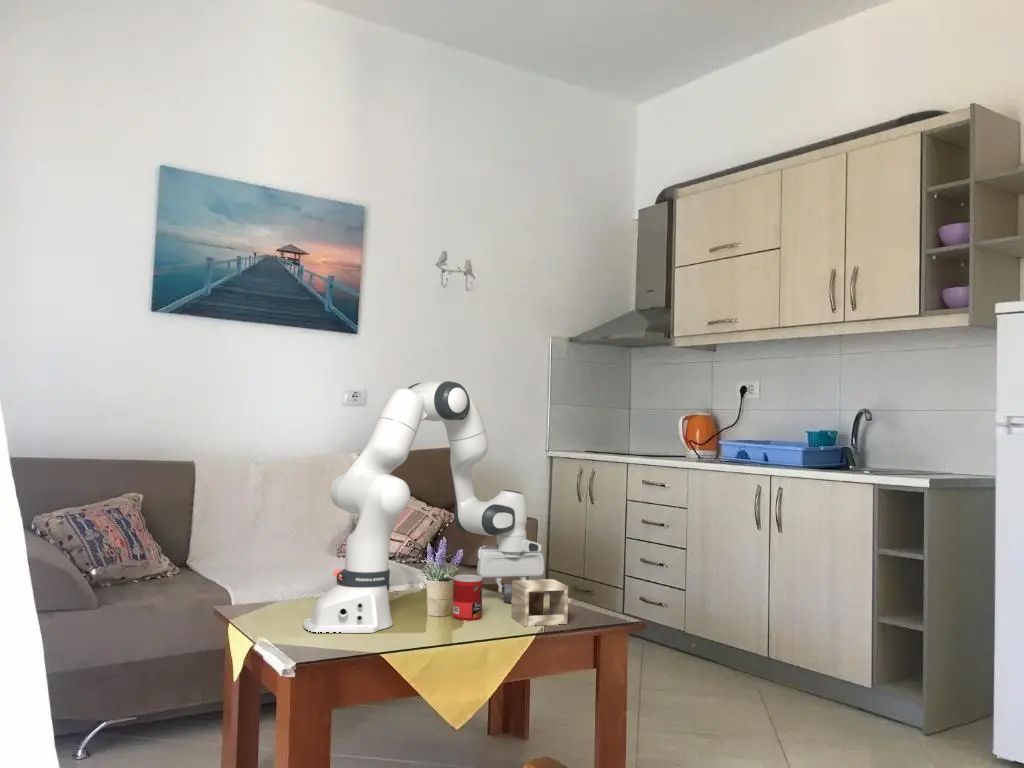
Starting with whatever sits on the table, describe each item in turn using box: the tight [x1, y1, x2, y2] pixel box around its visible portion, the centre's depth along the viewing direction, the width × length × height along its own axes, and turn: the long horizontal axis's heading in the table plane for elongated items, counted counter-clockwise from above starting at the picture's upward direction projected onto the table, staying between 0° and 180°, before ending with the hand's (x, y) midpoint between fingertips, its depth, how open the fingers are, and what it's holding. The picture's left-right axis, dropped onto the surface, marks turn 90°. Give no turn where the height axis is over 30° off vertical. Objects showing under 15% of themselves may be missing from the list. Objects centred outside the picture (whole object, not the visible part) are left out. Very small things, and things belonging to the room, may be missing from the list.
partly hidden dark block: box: [503, 582, 545, 616], centre depth 246 cm, size 6×20×6 cm, turn 22°
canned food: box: [452, 574, 483, 622], centre depth 231 cm, size 8×8×11 cm
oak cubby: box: [511, 578, 569, 627], centre depth 230 cm, size 12×11×10 cm
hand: (510, 591), depth 254 cm, fingers closed on partly hidden dark block, 4 cm apart
